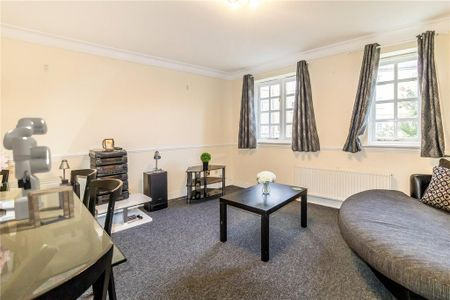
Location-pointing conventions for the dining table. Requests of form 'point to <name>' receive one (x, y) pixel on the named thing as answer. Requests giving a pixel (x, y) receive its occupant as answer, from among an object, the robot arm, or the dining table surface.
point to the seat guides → (53, 220)
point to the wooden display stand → (33, 195)
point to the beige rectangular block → (64, 182)
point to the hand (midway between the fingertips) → (24, 188)
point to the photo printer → (21, 208)
